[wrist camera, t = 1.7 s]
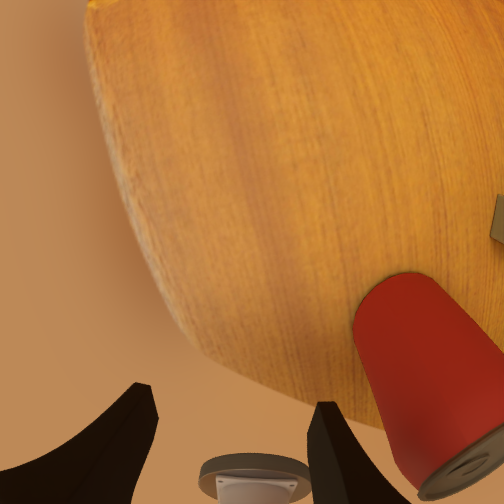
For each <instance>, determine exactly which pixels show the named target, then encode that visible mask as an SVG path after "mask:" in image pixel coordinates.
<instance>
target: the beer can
mask: <svg viewBox="0 0 504 504" xmlns="http://www.w3.org/2000/svg"><path fill="white" fill-rule="evenodd" d="M353 336H354V342H355V345H356V347H357V350H358V353H359V355H360V358H361V361H362V364H363V366H364V369H365V372H366V375H367V377H368V380H369V383H370V386H371V389H372V392H373V395H374V397H375V400H376V403H377V406H378V409H379V412H380V415H381V419H382V422H383V425H384V428H385V431H386V434H387V437H388V441H389V444H390V447H391V450H392V454H393V457H394V461H395V463H396V464H397V466H398V468H399V470H400V471H401V473H402V474H403V475H404V476H405V477H406V479H407V480H408V481H409V482H410V483H411V484H412V485H413V486H414V487H415V488H416V489H417V490H418V491H419V492H418V494H417V496H418V498H419V499H420V500H422V501H435V500H439V499H442V498H445V497H448V496H451V495H453V494H455V493H458V492H460V491H462V490H464V489H466V488H468V487H470V486H471V485H473V484H475V483H477V482H478V481H479V480H481V479H483V478H484V477H486V476H487V475H489V474H490V473H492V472H493V471H494V470H496V469H497V468H498V467H499V466H501V465H502V464H503V463H504V354H503V353H502V351H501V350H500V349H499V348H498V347H497V346H496V344H495V343H494V342H493V341H492V340H491V339H490V338H489V337H488V335H487V334H486V333H485V332H484V331H483V330H482V329H481V328H480V327H479V326H478V324H477V323H476V322H475V321H474V320H473V319H472V318H471V317H470V316H469V315H468V314H467V313H466V312H465V311H464V310H463V309H462V308H461V307H460V306H459V305H458V304H457V303H456V302H455V301H454V300H453V299H452V298H451V297H450V296H449V295H448V294H447V293H446V292H445V291H444V290H443V289H442V288H441V287H440V286H439V285H438V284H437V283H436V282H435V281H434V280H433V279H432V278H430V277H427V276H425V275H423V274H420V273H403V274H400V275H397V276H393V277H390V278H388V279H387V280H385V281H384V282H382V283H381V284H379V285H377V286H376V287H375V288H374V289H373V290H372V291H371V292H370V293H369V294H368V295H367V296H366V297H365V298H364V299H363V301H362V303H361V305H360V307H359V309H358V310H357V312H356V315H355V320H354V324H353Z"/></svg>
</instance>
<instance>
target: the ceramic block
mask: <svg viewBox="0 0 504 504" xmlns="http://www.w3.org/2000/svg"><path fill="white" fill-rule="evenodd" d="M490 237H492V238H493V239H495V240H497V241H499V242H501V243H502V244H504V195H500V194H498V197H497V203H496V209H495V214H494V219H493V224H492V229H491V234H490Z"/></svg>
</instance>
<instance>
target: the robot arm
mask: <svg viewBox="0 0 504 504" xmlns="http://www.w3.org/2000/svg"><path fill="white" fill-rule="evenodd" d="M158 419H159V417H158V413H157V410H156V406H155V402H154V398H153V394H152V390H151V386H150V385H146V384H141V383H137V382H135V383H134V384H133V385H131V386H130V388H129V389H127V390H126V392H124V393H123V394H122V395H121V396H120V397H119V398H118V399H117V400H116V402H114V403H113V404H112V405H111V406H110V407H109V408H108V409H107V410H106V411H105V412H104V413H102V414H101V415H100V416H99V417H98V418H97V419H96V420H95V421H93V422H92V423H91V424H90V425H89V426H87V427H86V428H85V429H84V430H82V431H81V432H80V433H78V434H77V435H76V436H74V437H73V438H72V439H70V440H69V441H67V442H66V443H64V444H63V445H61V446H59V447H58V448H56V449H54V450H52V451H51V452H49V453H47V454H45V455H43V456H41V457H39V458H37V459H35V460H32V461H30V462H27V463H25V464H22V465H20V466H17V467H14V468H11V469H7V470H3V471H0V504H131V500H132V496H133V492H134V489H135V486H136V483H137V481H138V478H139V476H140V473H141V470H142V468H143V465H144V463H145V460H146V458H147V455H148V453H149V450H150V448H151V445H152V442H153V440H154V436H155V432H156V428H157V424H158ZM307 457H308V464H309V472H310V479H311V487H312V494H313V501H314V504H411V503H410V502H409V501H408V500H407V499H405V498H404V497H403V496H402V495H401V494H400V493H399V492H398V491H397V490H396V489H395V488H394V487H393V486H392V485H391V484H390V483H389V482H388V480H386V478H385V477H384V476H383V475H382V474H381V472H380V471H379V470H378V469H377V467H376V466H375V465H374V463H373V462H372V461H371V460H370V458H369V457H368V456H367V454H366V453H365V451H364V450H363V448H362V447H361V445H360V444H359V442H358V441H357V439H356V437H355V436H354V434H353V433H352V431H351V429H350V427H349V426H348V424H347V422H346V421H345V419H344V417H343V415H342V413H341V411H340V409H339V408H338V406H337V404H336V403H335V402H334V401H331V402H318V403H317V406H316V409H315V412H314V415H313V418H312V421H311V424H310V426H309V429H308V432H307ZM297 484H298V480H297V479H264V478H247V477H235V476H225V475H217V476H216V487H217V496H218V504H289V500H290V498H291V496H292V494H293V492H294V490H295V488H296V486H297Z"/></svg>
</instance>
